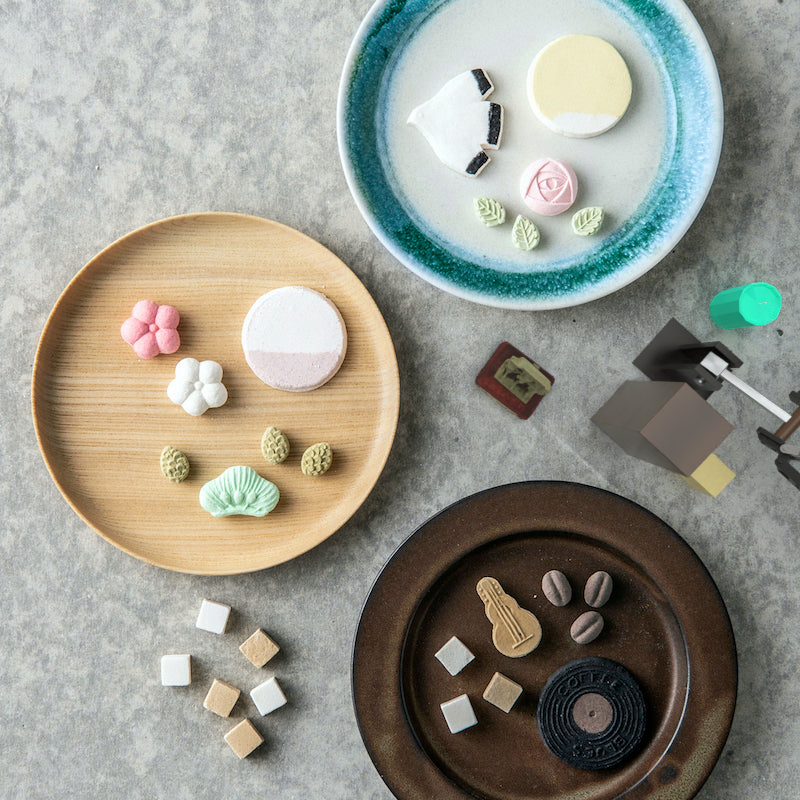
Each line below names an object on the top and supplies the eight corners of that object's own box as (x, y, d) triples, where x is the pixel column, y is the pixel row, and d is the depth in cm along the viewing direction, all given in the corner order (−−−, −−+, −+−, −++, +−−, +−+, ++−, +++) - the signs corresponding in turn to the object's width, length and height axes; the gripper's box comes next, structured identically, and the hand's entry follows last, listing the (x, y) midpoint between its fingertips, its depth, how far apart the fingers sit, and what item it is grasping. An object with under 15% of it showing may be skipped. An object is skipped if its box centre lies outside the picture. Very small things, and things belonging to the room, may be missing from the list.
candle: (702, 326, 107) (739, 320, 95) (710, 286, 107) (748, 276, 95) (742, 333, 107) (783, 328, 95) (749, 294, 107) (792, 284, 95)
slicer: (729, 370, 108) (776, 370, 94) (688, 415, 108) (729, 421, 94) (670, 317, 107) (708, 309, 94) (629, 362, 108) (661, 361, 94)
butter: (712, 467, 108) (736, 475, 100) (692, 488, 108) (715, 498, 100) (688, 445, 108) (710, 451, 100) (668, 466, 108) (689, 474, 100)
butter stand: (663, 415, 108) (735, 428, 84) (626, 454, 108) (688, 478, 84) (624, 379, 108) (685, 382, 84) (588, 418, 108) (638, 432, 84)
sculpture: (470, 383, 108) (479, 385, 93) (501, 340, 108) (516, 335, 93) (522, 421, 108) (540, 429, 93) (554, 377, 108) (577, 379, 93)
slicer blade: (811, 413, 92) (815, 409, 90) (782, 445, 92) (785, 442, 90) (717, 346, 97) (719, 341, 95) (689, 377, 97) (691, 372, 95)
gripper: (950, 427, 79) (808, 357, 90) (860, 525, 79) (731, 443, 91) (948, 454, 84) (815, 384, 96) (865, 545, 84) (742, 465, 96)
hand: (775, 413), depth 93 cm, fingers closed on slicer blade, 5 cm apart
